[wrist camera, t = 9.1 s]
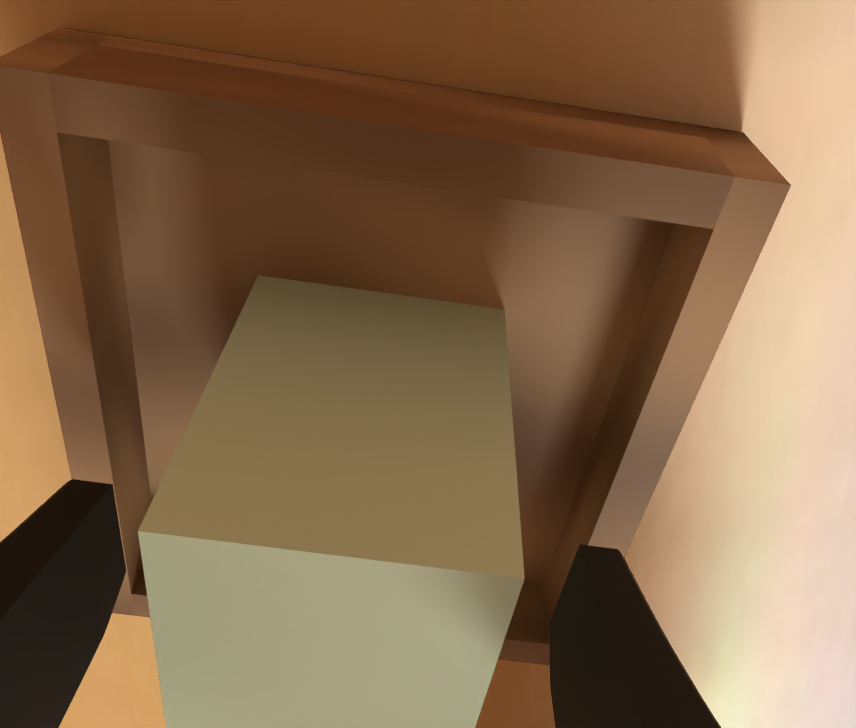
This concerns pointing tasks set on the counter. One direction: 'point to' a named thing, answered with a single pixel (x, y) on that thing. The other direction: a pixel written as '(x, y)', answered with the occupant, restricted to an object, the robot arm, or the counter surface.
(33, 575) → the robot arm
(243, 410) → the sage block
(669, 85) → the counter surface
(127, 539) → the walnut tray
